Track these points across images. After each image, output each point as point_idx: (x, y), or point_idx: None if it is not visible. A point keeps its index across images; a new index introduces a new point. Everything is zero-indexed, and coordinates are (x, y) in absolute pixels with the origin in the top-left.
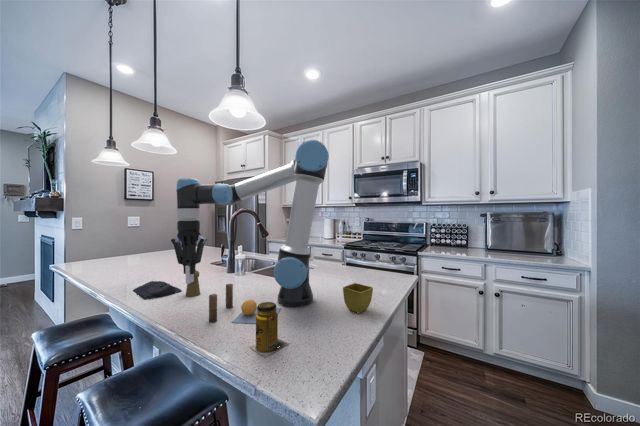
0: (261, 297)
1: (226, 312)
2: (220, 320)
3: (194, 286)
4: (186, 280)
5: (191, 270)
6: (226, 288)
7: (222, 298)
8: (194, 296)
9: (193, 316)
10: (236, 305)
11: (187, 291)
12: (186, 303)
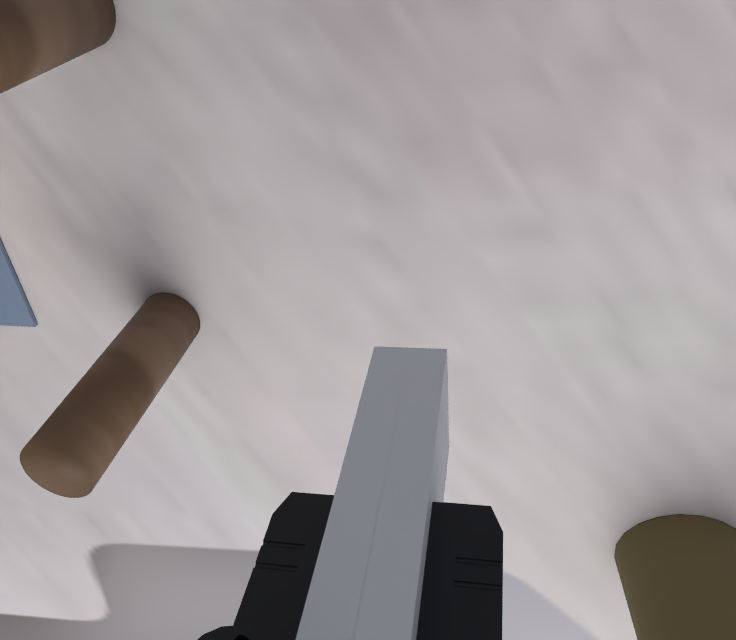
0: None
1: (113, 213)
2: None
3: (663, 615)
4: (424, 385)
5: (299, 559)
6: (82, 422)
7: None
8: (642, 522)
9: (350, 92)
10: None
11: (727, 567)
12: (630, 383)
